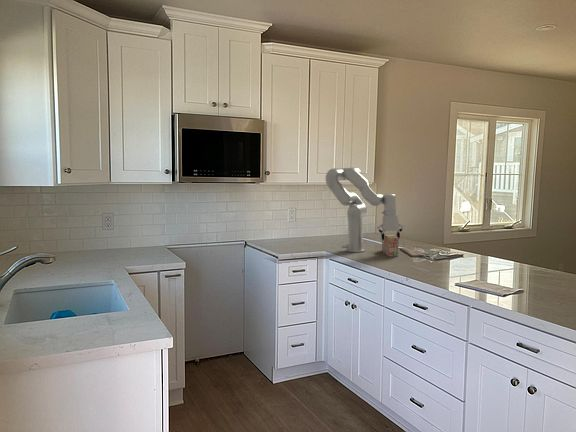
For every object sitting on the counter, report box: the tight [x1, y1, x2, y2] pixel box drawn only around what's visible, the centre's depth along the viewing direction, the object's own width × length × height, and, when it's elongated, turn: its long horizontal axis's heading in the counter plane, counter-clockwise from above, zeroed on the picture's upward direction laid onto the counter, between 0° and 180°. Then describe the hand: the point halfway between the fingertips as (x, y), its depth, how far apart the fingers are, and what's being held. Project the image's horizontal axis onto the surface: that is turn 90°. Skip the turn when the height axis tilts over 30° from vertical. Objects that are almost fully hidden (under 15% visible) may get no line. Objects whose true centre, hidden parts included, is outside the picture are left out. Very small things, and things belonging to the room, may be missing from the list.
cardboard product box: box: [381, 234, 400, 258], centre depth 303 cm, size 21×6×12 cm, turn 0°
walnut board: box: [400, 246, 425, 258], centre depth 304 cm, size 12×27×1 cm, turn 2°
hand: (390, 239), depth 302 cm, fingers open, 9 cm apart
